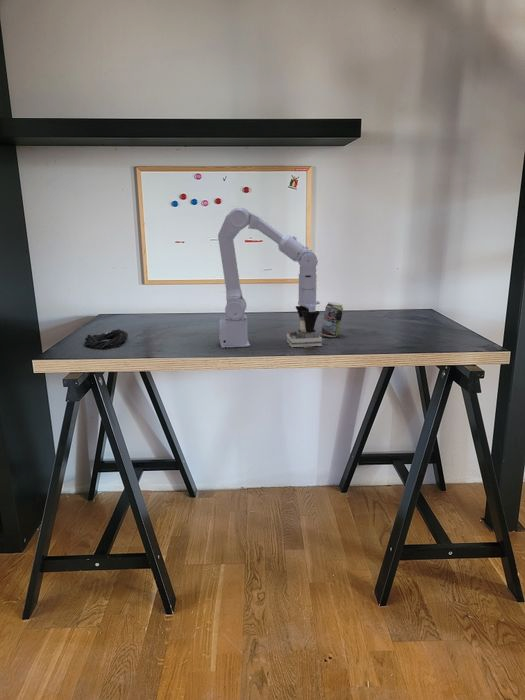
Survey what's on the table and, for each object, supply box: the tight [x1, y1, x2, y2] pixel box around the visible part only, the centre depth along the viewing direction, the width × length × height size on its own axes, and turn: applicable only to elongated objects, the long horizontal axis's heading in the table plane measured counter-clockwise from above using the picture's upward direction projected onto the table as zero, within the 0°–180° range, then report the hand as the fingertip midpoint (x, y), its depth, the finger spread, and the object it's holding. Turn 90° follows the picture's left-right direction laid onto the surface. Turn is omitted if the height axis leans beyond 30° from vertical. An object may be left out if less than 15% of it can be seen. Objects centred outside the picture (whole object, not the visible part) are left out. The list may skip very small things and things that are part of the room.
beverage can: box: [321, 301, 344, 338], centre depth 180 cm, size 6×7×12 cm
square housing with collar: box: [286, 328, 323, 348], centre depth 170 cm, size 10×8×4 cm
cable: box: [84, 328, 129, 350], centre depth 175 cm, size 17×14×4 cm
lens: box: [299, 317, 313, 333], centre depth 170 cm, size 5×5×6 cm
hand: (307, 329), depth 170 cm, fingers open, 7 cm apart
